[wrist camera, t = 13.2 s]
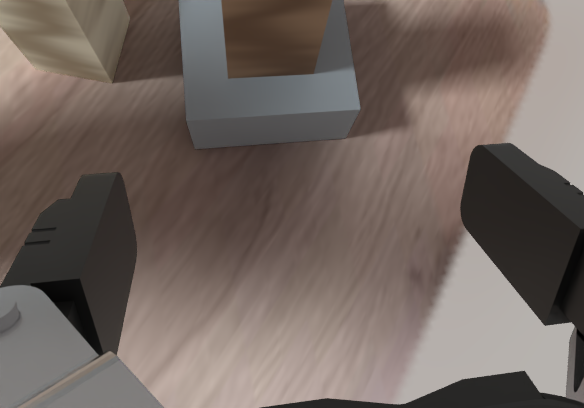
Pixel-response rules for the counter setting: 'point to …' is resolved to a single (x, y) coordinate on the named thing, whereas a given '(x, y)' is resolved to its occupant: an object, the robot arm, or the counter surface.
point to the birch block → (68, 35)
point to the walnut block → (273, 36)
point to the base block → (264, 87)
